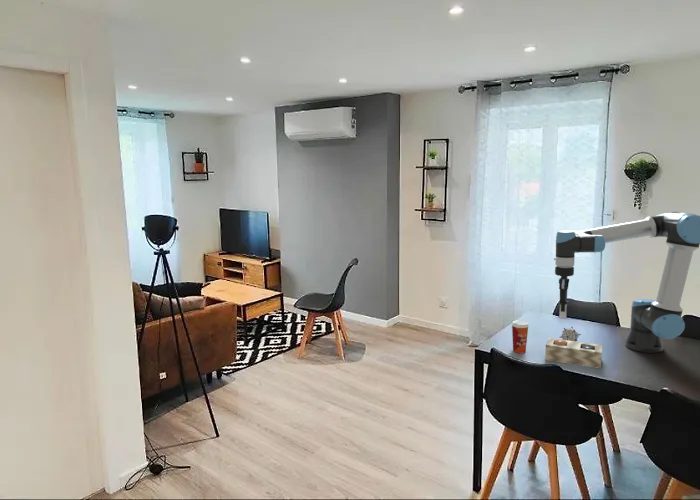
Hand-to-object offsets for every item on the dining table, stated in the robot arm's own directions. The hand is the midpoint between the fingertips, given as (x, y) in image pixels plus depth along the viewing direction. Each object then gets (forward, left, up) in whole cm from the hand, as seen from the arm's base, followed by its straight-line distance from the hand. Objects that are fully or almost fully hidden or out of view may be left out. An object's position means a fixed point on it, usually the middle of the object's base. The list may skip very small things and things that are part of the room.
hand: (562, 317), depth 208 cm
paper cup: (+18, 0, -19) cm, 26 cm away
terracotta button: (0, +1, -16) cm, 16 cm away
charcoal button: (-11, +1, -17) cm, 20 cm away
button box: (-5, +1, -19) cm, 19 cm away
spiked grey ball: (-2, -20, -19) cm, 28 cm away
